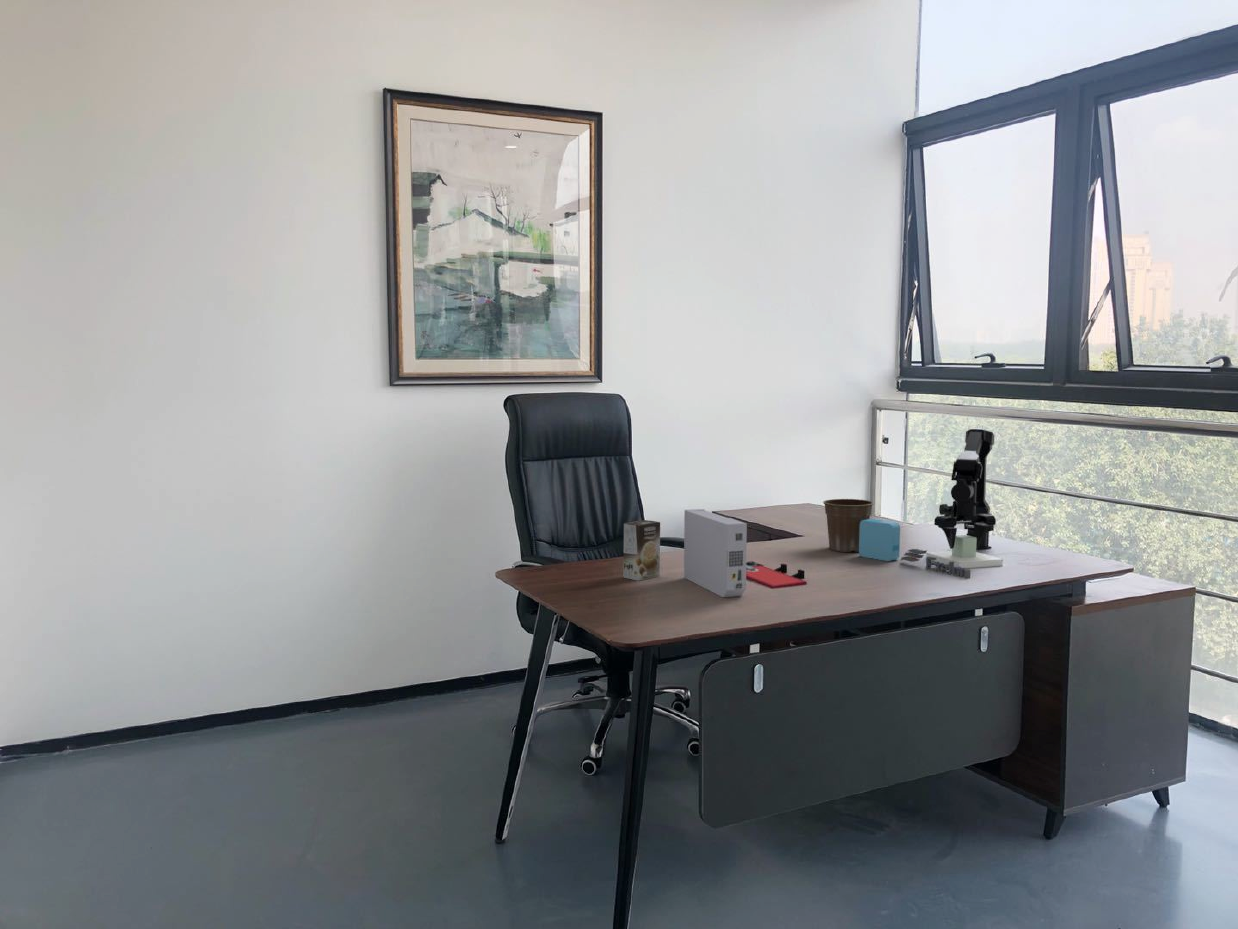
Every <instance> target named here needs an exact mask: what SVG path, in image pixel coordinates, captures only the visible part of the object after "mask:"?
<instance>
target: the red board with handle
mask: <svg viewBox="0 0 1238 929" xmlns="http://www.w3.org/2000/svg"><path fill="white" fill-rule="evenodd" d="M787 573H788V565H787V564H786V563H780V567H777V568H775V569H773V568H769V567H767V566H765V565H764V564H761V563H758V562H755V561H754V560H753V561H752V560H751V561H746V580H749V581H752V582H755V583H757V584H759V585H762V586H765V587H768V588H771V589H780V588H788V587H789V588H790V587H796V586H805V585H807V584H808V581H806V580H804V579H805V570H803V569H797V573H794V574H792V575H788V574H787Z"/></svg>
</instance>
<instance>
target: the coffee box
mask: <svg viewBox="0 0 1238 929" xmlns="http://www.w3.org/2000/svg"><path fill="white" fill-rule="evenodd" d="M660 554H661V521H654V520H647V519H643V520H636V521H629V522H627V521H626V522H624V523H623V565H622V566H623V569H622V570H623V572H622V573H623V578H624V579H629V580H633V581H637V582H638V581H639V582H640V581H643V580H648V579H653V578H657V577H660V576H661V575H660V573H661V572H660V571H661V570H660V568H661V566H660V565H661V561H660V560H661V555H660Z"/></svg>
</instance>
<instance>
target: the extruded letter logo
mask: <svg viewBox="0 0 1238 929" xmlns="http://www.w3.org/2000/svg"><path fill="white" fill-rule="evenodd" d="M926 552H928V550H923V549H918V548H911V549H908V550H907V552H905V553H904V554H903V556H902V557H901V559H900V561H907V562H910V563H913V562H918V561H921V559H922V558H923V557H924V556H925V555H924V554H926ZM925 559H926V560H925V570H929V571H934V572H938V573H941V574H945V575H947V574H948V575H950V576H954V577H960V578H964V579H970V578H971V570H970V569H971V568H961V567H959V566H958V567H954V561H951V562H949V564H944V563H940V562H935V561H932V560H937V558H935V557H931V556H929V557H926V556H925ZM932 566H935V568H934V567H932Z"/></svg>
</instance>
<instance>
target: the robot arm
mask: <svg viewBox="0 0 1238 929" xmlns="http://www.w3.org/2000/svg"><path fill="white" fill-rule="evenodd" d="M964 438H965V440H964V443H965V446H964V449H963V452H962V453H960V454H958V455H957V458H956V460H954V462H953V465H952V466H953V467H952V472H951V481H956V484H954V485H953V486H952V487H951V490H950V495H951V498H952V500H953V502H952V505H948V504H947V503H941V504H939V506H938V507H939V510H938V511H939V512H938V513H939V515H936V516H935V518H934V522H933V523H934V526H937V527H938V528H939V529H941V530H942V531H943V534H944V535H945V537H946V540H947V544H948V546H949V549H950V550H952V549H953V548H954V544H955V538H956V536H957V533H958V528H957V527H956V526H957V525H960V524H961V525H962V524H963V526H964V527H963V529H964V530H967V532H966V534H965V535H968V536H972V537H976V538H977V542H976V550H984V549H985V550H986V549H992V546H990V545H989V538H990V532H994V530H995V525H996V526H997V523H996V522H997V519H996V517H995V515H993V514H992V512H991V507H990V505H989V503H988V502H987V500H986V489H987V488H986V486H987V484H986V483H987V458H988V456H989V454H990V453H991V451H992V450H993V446H995V445H994V444H995V433H994V432H992V431H990V430H986V428H985V429H984V428H981V427H980V428H979V427H978V428H977V427H972V428H968V430H967V431H965V437H964Z"/></svg>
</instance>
